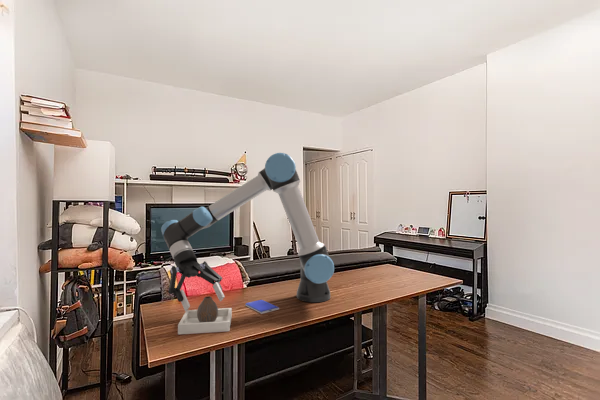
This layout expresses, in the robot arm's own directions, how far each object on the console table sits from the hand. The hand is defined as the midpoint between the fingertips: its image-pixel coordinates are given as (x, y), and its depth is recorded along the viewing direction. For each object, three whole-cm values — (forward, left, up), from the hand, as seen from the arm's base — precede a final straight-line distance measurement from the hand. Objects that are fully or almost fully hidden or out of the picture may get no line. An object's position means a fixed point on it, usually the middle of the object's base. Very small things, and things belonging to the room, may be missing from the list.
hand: (205, 303), depth 106 cm
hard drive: (-20, -15, -8) cm, 26 cm away
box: (0, 0, -7) cm, 7 cm away
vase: (-1, 0, -7) cm, 7 cm away
